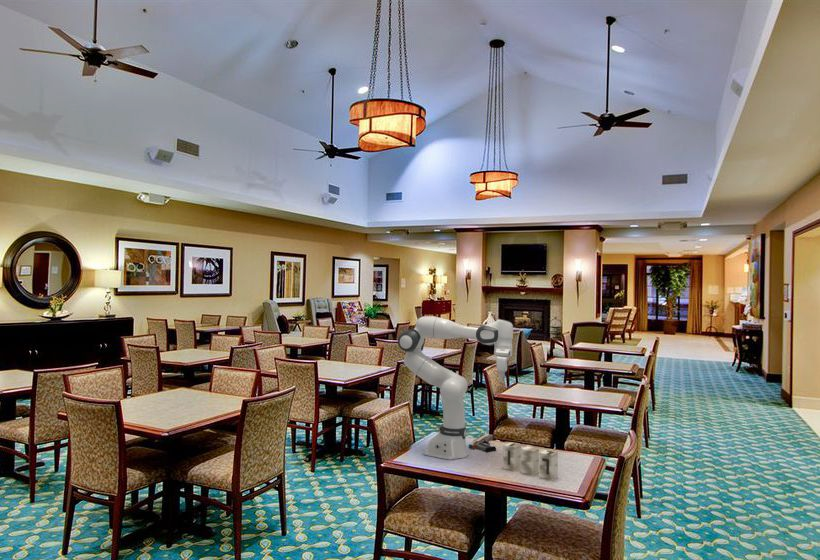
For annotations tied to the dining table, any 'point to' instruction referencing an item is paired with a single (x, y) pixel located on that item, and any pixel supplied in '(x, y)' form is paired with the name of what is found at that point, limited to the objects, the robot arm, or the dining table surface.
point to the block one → (512, 456)
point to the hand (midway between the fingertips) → (501, 380)
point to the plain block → (530, 460)
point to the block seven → (548, 465)
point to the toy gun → (483, 443)
